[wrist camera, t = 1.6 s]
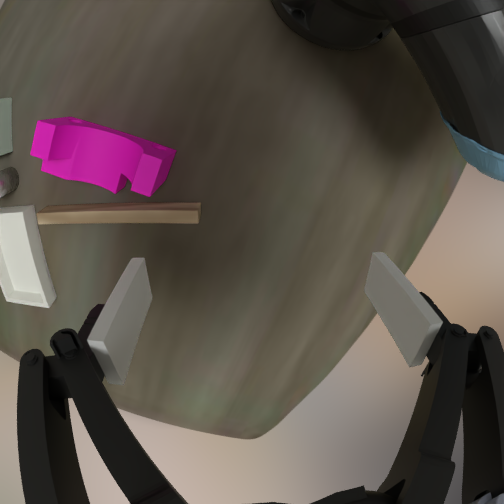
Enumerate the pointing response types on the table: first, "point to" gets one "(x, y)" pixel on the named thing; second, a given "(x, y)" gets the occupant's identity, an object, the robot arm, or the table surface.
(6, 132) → the socket
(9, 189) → the cylinder
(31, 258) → the tray
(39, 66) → the table surface
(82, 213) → the brown wooden bar
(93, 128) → the toy block
